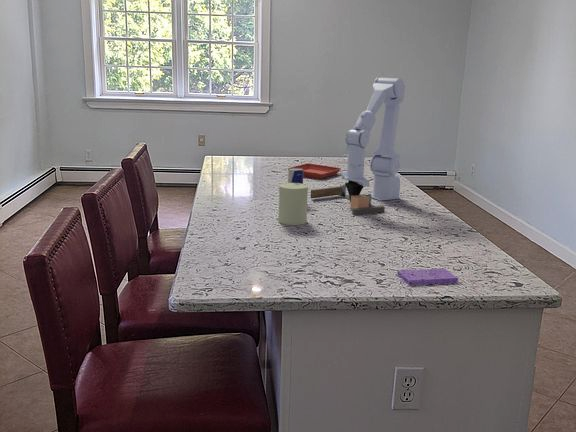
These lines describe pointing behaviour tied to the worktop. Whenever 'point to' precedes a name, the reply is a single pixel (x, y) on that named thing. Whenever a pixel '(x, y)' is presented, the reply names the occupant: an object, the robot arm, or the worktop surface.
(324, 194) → the brown long flat bar
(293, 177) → the energy drink
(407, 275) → the sponges
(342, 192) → the frame
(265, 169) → the worktop surface
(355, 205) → the block
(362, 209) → the kerb
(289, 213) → the can
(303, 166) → the plant saucer
